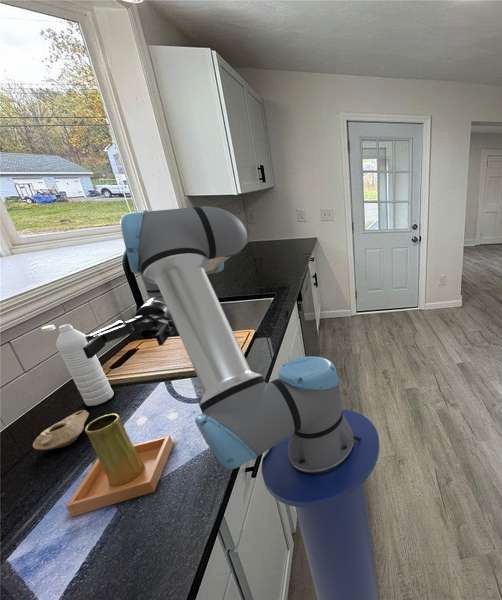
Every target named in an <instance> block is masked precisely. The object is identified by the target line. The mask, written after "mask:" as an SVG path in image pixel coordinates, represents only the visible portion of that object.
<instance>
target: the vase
mask: <svg viewBox="0 0 502 600" xmlns="http://www.w3.org/2000/svg"><path fill="white" fill-rule="evenodd" d="M84 431H85V433H86V435H87V438H88V439H89V441H90V443H91V445H92V448H93V450H94V452H95V455H96V457H97V458H98V459H99V461H100V463H101V465H102V467H103V470H104V472H105V474H106V475H107V477H108V481H109V484H110V485H112V486H118V485H122V484H125V483H127V482H129V481H131V480H133V479H134V478H136V477H137V476H138V475H139V474H140V473H141V472H142V470H143V469H144V463H143V462H142V460H141V458H140V456H139V455H138V453H137V451H136V449H135V448H134V446H133V445H134V444H133V441H132V440H131V437H130V436H129V435H128V433H127V431H126V428H125V425H124V424H123V421H122V419H121V418H120V415H119V414H117V413H109V414H105V415H102V416H100V417H98V418H95V419H93V420H92V421H89V423H88V424H87V425H86V426H85V427H84Z"/></svg>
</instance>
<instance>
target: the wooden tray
mask: <svg viewBox="0 0 502 600" xmlns="http://www.w3.org/2000/svg"><path fill="white" fill-rule="evenodd" d="M133 446H134V448H135V449H136V451H137V453H138V455H139V456H140V458H141V460H142V462H143V463H144V469H143V470H142V472H141V473H140V474H139V475H138V476H137V477H136V478H134V479H133V480H131V481H129V482H127V483H125V484H122V485H118V486H112V485H110V484H109V481H108V477H107V475H106V474H105V472H104V470H103V467H102V465H101V463H100V461H99V459H98V457H97V459H96V460H95V461H94V463H93V465H92V466H91V468H90V469H89V471H88V472H87V474H85V476H84V478H83V480H82V481H81V483H80V484H79V486H78V487H77V488H76V490H75V491H74V493H73V495H72V497H71V498H70V500H68V502H67V504H66V505H65V508H66V509H67V511H68V513H69V514H70V516H71V517H75V516H78V515H82V514H85V513H89V512H92V511H95V510H98V509H102V508H105V507H108V506H112V505H115V504H118V503H121V502H124V501H128V500H131V499H135V498H138V497H141V496H144V495H148V494H152V493H154V492H155V491H156V488H157V486H158V483H159V481H160V478H161V476H162V474H163V471H164V469H165V466H166V463H167V461H168V459H169V456H170V454H171V451H172V449H173V446H174V442H173V440H172V437H171V434H170V435H165V436H162V437H158V438H153V439H150V440H145V441H143V442H139V443H135V444H133Z"/></svg>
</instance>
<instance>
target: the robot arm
mask: <svg viewBox="0 0 502 600" xmlns="http://www.w3.org/2000/svg"><path fill="white" fill-rule="evenodd" d="M119 226H120V229H121V235H122V238H123V242H124V246H125V252H126V256H127V260H128V264H129V269H130V271H131V273H133V274H138V275H140V277H141V280H142V282H143V285H144V288H145V290H146V294H147V297H148V300H147V301H145V303H143V305H142V306H140V307H139V308H138V309H137V310H136V311H135V314H134V317H133V318H132V319H129V320H126V321H124V320H123V319H119V320H117V321H115V322H114V323H112V324H110V325H107V326H106V327H103V328H101V329H98V330H97V331H93V332H92V333H90V334H86V336H85V338H86V340H87V342H88V343H87V345H86V346H85V347H83V350H84V352H85V354H86V357H87V359H89V358H92V357H93V356H94V355H96V356H97V354H98V353H99V352H100V351H101V350H102V349H103V348H104V347H106V344H107V343H110V342H113V341H114V340H117V339H119V338H123V337H124V336H127V335H134V334H137V333H139V332H144V331H157V332H156V334H155V339H156V341H157V344H158V346H164V344H165V343H166V342H167V340H168V338H169V337H172V336H173V335H174V333H176V332H177V333H178V335H179V338H180V339H181V342H182V344H183V346H184V349H185V351H186V355H187V356H188V359H189V361H190V363H191V365H192V367H193V370H194V372H195V374H196V376H197V379H198V381H199V383H200V386H201V388H202V390H203V396H202V397H201V400H200V401H199V404H198V406H199V409H200V410H201V413H198V415H197V416H195V419H194V422H195V424H196V427H197V428H198V431H199V432H200V434H201V436H202V437H203V439H204V441H205V443H206V444H207V446H208V447H209V449H210V450H211V452H212V454H213V455H214V456H215V457H216V459H217V460H218V462H219V463H220V464H221V465H222V466H224V468H226V469H229V470H235V469H237V468H240V467H241V466H244V465H245V464H248V463H249V462H250V461H253V460H256V459H258V457H259V456H261V455H262V454H264V453H267V452H268V451H269V449H270V448H272V447H274V446H275V445H277V444H278V443H280V442H282V441H283V440H285V439H287V438H288V437H290V439H289V445H288V457H289V461H290V464H291V466H292V467H293V468H294V469H295V470H296V471H297V472H299V473H302V474H305V475H321V474H325V473H328V472H331V471H333V470H335V469H337V468H338V467H340V466H341V465H342V464H343V463H345V462H346V461H347V459H348V458H349V457H350V455H351V453H352V451H353V449H354V439H355V440H358V441H360V440H361V438H359V437H356V436H354V435H353V431H352V429H351V427H350V425H349V424H348V422H347V421H346V419H345V417H344V416H343V412H342V409H343V405H342V400H341V399H342V398H341V392H340V385H339V384H340V378H339V377H338V373H337V368H336V366H335V365H334V363H333V362H332V361H330V360H329V359H327V358H325V357H321V356H310V355H309V356H300V357H295V358H293V359H290V360H288V361H287V362H285V363H283V364H282V366H281V367H279V369H278V373H277V374H278V375H277V376H278V377H277V378H276V379H274V380H273V379H272V380H271V381H269V382H266V380H265V377H264V376H263V374H261V373H257V372H254V371H252V370H251V368H250V366H249V364H248V361H247V359H246V357H245V355H244V353H243V351H242V348H241V346H240V344H239V342H238V340H237V337H236V335H235V332H234V331H233V329H232V327H231V324H230V322H229V320H228V318H227V316H226V313H225V311H224V310H223V307H222V304H221V303H220V300H219V299H218V296H217V294H216V292H215V290H214V287H213V285H212V284H211V281H210V280H209V277H208V275H210V274H211V275H213V274H216V273H219V272H222V271H223V270H224V268H225V262H224V261H225V260H226V259H227V258H230V257H234V256H236V255H237V254H239V253H240V252H241V251H242V250H243V249H244V248H245V246H246V244H247V240H248V234H247V229H246V227H245V225H244V224H243V222H242V221H241V220H240V219H239V218H238V217H237V216H235V214H233V213H231V211H227V210H225V209H223V208H219V207H216V206H209V205H204V206H203V205H202V206H192V207H180V208H171V209H159V210H150V211H149V210H145V209H144V210H142V211H135V212H128V213H124V214H123V215H122V216H120V219H119Z"/></svg>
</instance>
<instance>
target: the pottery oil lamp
mask: <svg viewBox="0 0 502 600" xmlns="http://www.w3.org/2000/svg"><path fill="white" fill-rule="evenodd" d="M89 416H90V412H88V411H87V410H86V409H82V410H79V411H76V412H74V413H72V414H71V415H69V416H67V417H65V418H64V419H62V420H60V421H58V422H56V423H54V424H53V425H51V426H50V427H48V428H46V429H45V430H42V432H41V433H40V434H39V435H38V436H37V437H36V438H35V440H34V441H33V443H32V448H33V449H34V450H37V451H49V450H55V449H61V448H66V447H68V446H70V445H71V444H73V443H74V442H75V441H76V440H77V439H78V437H79V435H80V434H81V433H82V432H83V431H84V430H85V422H87V420H88V418H89Z"/></svg>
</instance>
